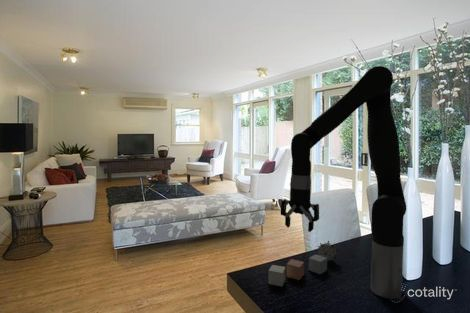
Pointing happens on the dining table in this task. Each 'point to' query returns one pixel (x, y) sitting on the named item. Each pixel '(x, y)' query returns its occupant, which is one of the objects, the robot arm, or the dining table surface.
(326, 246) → the small potted plant
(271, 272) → the cream cube
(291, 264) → the terracotta cube
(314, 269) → the blue-grey cube
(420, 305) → the dining table surface
